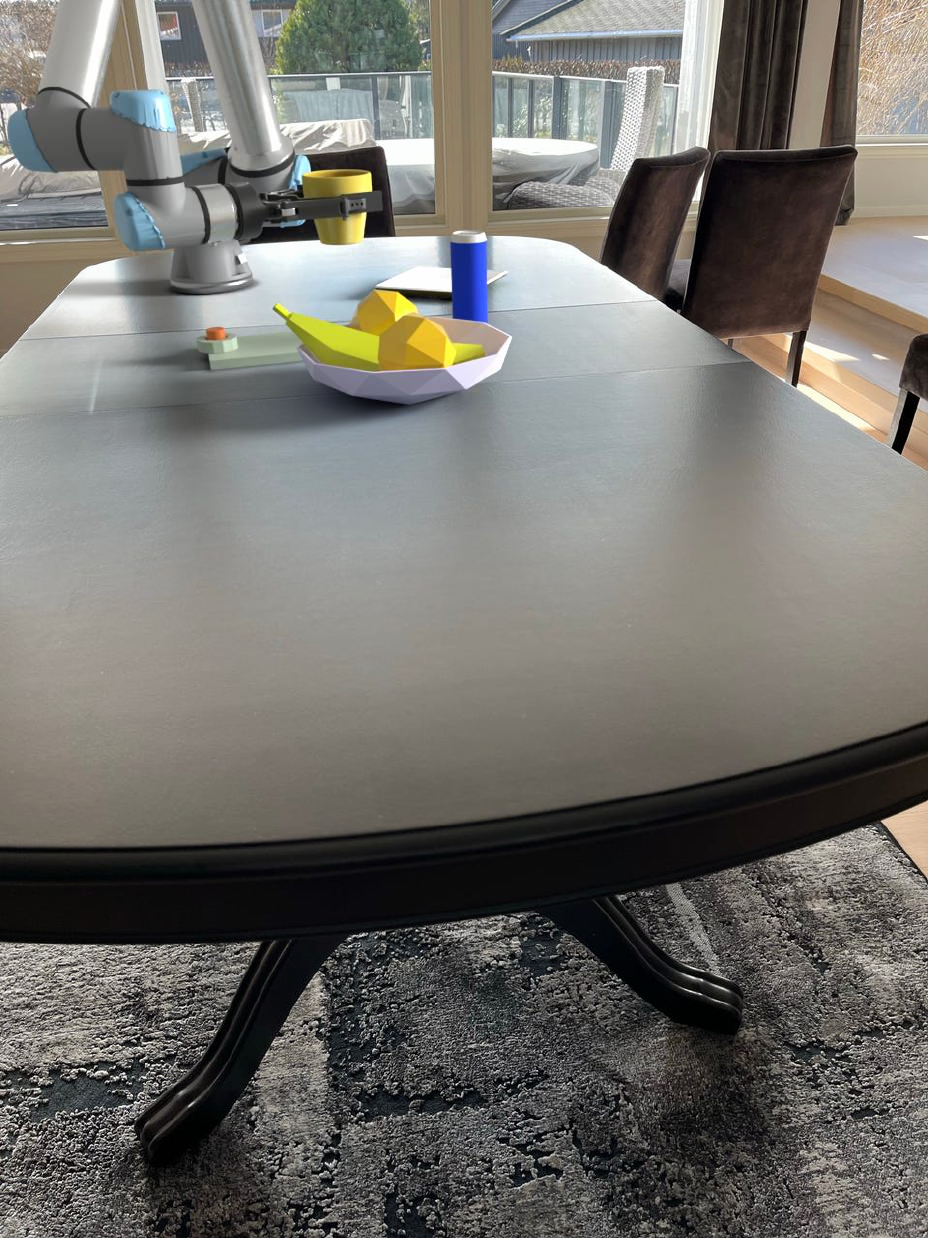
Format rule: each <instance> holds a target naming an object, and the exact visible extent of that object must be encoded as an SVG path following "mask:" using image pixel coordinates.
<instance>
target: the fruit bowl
mask: <svg viewBox="0 0 928 1238" xmlns="http://www.w3.org/2000/svg"><path fill="white" fill-rule="evenodd" d="M272 311H274V312H275V313H276V314H278V315H279V316H280V317H281V318H282V319H283V320H285V325H286V326H287V328H289V330H290V331H291V332H292V331H293V332H294V333H295V335H296V336H297V337H298V338H299V339H300V340H301V341H302V342H303V343H302V344H300V345H299V346H297V347H296V348H297V350H298V352H299V354H300V356H301V358H302V359H303V361H302V362H303V364H304V365H305V367H306V369H307V371H308V373H309V374H310V376H311V378H312V380H314V381H316V382H318V383H321V384H323V385H326V386H328V387H330V388H333V389H335V390H337V391H340V392H342V393H344V394H347V395H350V396H352V397H358V398H363V399H370V400H376V401H377V400H378V401H383V402H388V403H389V402H391V403H394V404H402V405H407V406H411V405H415V404H418V403H422V402H425V401H429V400H432V399H433V400H434V399H437V398H440V397H444V396H448V395H451V394H455V393H458V392H462V391H466V390H468V389H470V388H472V387H473V386H475V385H476V384H478V383H480V382H481V381H483V380H485V379H487V378H488V377H490V376H492V375H494V374H495V373H497V372H499V371H500V370H501V369H502V365H503V363H504V360H505V358H506V355H507V352H508V349H509V346H510V344H511V341H512V338H513V336H512V335H510V334H508V333H506V332H505V331H502V330H500V329H498V328H496V327H495V326H493V325H491V324H490V323H488V324H487V323H485V322H476V321H467V320H459V319H453V318H451V317H440V316H432V315H431V316H423V315H422V314H419V312H418V309H417V306H416V305H415V304H414V303H413V302H412V301H410V300H409V299H407V298H406V296H402V295H401V294H400V293H398V292H394V291H384V290H376V289H375V288H374V289H372V290H371V291H370V292H369V293H368V294H367V295H366V296H365V297H364V298H363V299H362V300H361V301H360V302H359V303H358V304H357V306H356V307H355V310H354V312H353V315H352V317H351V319H350V322H349V323H348V324H344V325H342V324H341V325H340V324H337V323H333V322H329V321H327V320H323V319H319V318H315V317H311V316H308V315H304V314H301V313H297V312H290V311H289V310H288V309H287V308H285V307H284V306H283V305H282V304H281V303H279V302H276V303H275V305H273V306H272Z"/></svg>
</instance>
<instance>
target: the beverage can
mask: <svg viewBox="0 0 928 1238" xmlns="http://www.w3.org/2000/svg"><path fill="white" fill-rule="evenodd" d="M449 244H450V245H449V246H450V249H449V250H450V268H451V280H452V299H451V305H452V307H451V308H452V319H459V320H467V321H476V322H485V323H487V324H489V311H488V310H489V309H488V308H489V307H488V303H489V302H488V301H489V300H488V297H489V296H488V286H487V270H488V239H487V237H486V233H485V232H484V231H483V230H476V229H468V230H467V229H466V230H456V231H453V232H452V233H451V235H450V241H449Z"/></svg>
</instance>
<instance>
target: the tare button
mask: <svg viewBox="0 0 928 1238" xmlns="http://www.w3.org/2000/svg"><path fill="white" fill-rule="evenodd" d="M225 333H226V329H225V327H223V326H212V327H211V326H210V327H207V328H206V329H205V335H207V340H221V339H225V338H226V336H225Z"/></svg>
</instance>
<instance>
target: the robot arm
mask: <svg viewBox="0 0 928 1238" xmlns="http://www.w3.org/2000/svg"><path fill="white" fill-rule="evenodd" d="M190 1H191V5H192V8H193V13H194V15H195V19H196V23H197V26H198V30H199V33H200V37H201V39H202V43H203V47H204V50H205V54H206V57H207V60H208V65H209V67H210V71H211V73H212V77H213V81H214V86H215V89H216V92H217V95H218V99H219V102H220V105H221V109H222V112H223V116H224V119H225V122H226V126H227V129H228V133H229V136H230V140H231V143H232V144H231V146H230V147H229V149H228V151H227V152H226V150H225V148H224V147H218V148H217V147H216V148H211V149H205V150H199V151H194V152H190V153H184V154H183V153H182V154H180V147H179V142H178V135H177V126H176V124H175V119H174V115H173V110H172V105H171V101H170V98H169V96H168V95H167V93H166V92H165V91H163V90H161V89H158V88H157V89H155V88H154V89H153V88H152V89H126V90H123V89H122V90H114V91H112V92H111V93H110V95H109V102H110V103H109V106H99V104H100V100H101V95H102V91H103V86H104V82H105V77H106V73H107V68H108V64H109V59H110V55H111V51H112V46H113V42H114V38H115V33H116V29H117V24H118V20H119V16H120V11H121V7H122V2H123V0H59V1H58V7H57V11H56V16H55V19H54V23H53V28H52V32H51V36H50V39H49V45H48V49H47V52H46V57H45V61H44V65H43V69H42V73H41V78H40V80H39V81H40V82H39V85H38V90H37V94H36V97H35V100H34V105H33V108H29V107H25V108H23V109H19V110H16V111H14V112H13V113H12V114H10V116H9V117H8V119H7V125H6V132H7V133H6V135H7V140H8V144H9V147H10V151H11V153H12V154H13V156H14V158H15V159H16V160H17V162H18V163H19V164H20V166H22V167H23V168H24V169H26V170H28V171H31V172H40V173H53V174H58V173H67V172H110V171H111V172H112V171H113V172H114V171H115V172H116V171H118V172H120V171H122V172H123V174H124V178H125V184H126V191H124V192H122V193H118V194H116V195H115V197H114V199H113V203H112V207H113V219H114V224H115V227H116V230H117V234H118V235H119V238H120V240H121V242H122V243H123V245H125V247H126V248H127V249H129V250H131V251H132V252H136V253H137V252H151V251H152V252H153V251H160V252H162V251H163V252H164V251H165V250H166V251H167V250H172V249H173V254H172V263H171V270H170V278H169V280H170V285H171V290H172V291H173V292H176V293H181V294H187V295H189V294H190V295H207V294H208V295H209V294H211V295H212V294H220V293H229V292H233V291H238V290H243V289H245V288H246V289H247V288H249V287H250V286H253V284H254V277H253V271H252V269H251V267H250V265H249V262H248V259H247V257H246V255H245V252H243V250H242V247H241V246H244V245H247V244H248V243H250V242H251V239H256V238H258V237H259V236H260V235H261V233H262V232H263V227H266V228H268V227H270V228H271V227H280V228H283V229H284V228H285V227H297V226H301V225H303V224H304V223H305V222H306V221H308V220H309V221H310V220H314V219H323V218H336V217H343V221H346V220H347V217H348V216H349V214H357V213H365V212H367V213H373V212H381V211H382V212H383V210H384V209H383V195H382V190H372V191H369V192H360V193H351V194H342V195H341V196H338V197H314V198H304V193H303V186H302V175H303V174H305V173H308V172H312V169H311V164H310V161H309V159H308V157H307V156H306V155H303V154H301V153H298V154H296V151H295V147H294V144H293V141H292V139H291V138H290V137H288V136H286V135H285V134H283V133H282V130H281V126H280V121H279V117H278V114H277V110H276V106H275V102H274V97H273V93H272V88H271V86H270V80H269V76H268V73H267V69H266V65H265V60H264V56H263V53H262V48H261V45H260V40H259V35H258V31H257V28H256V23H255V19H254V16H253V12H252V8H251V2H250V0H190Z"/></svg>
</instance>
